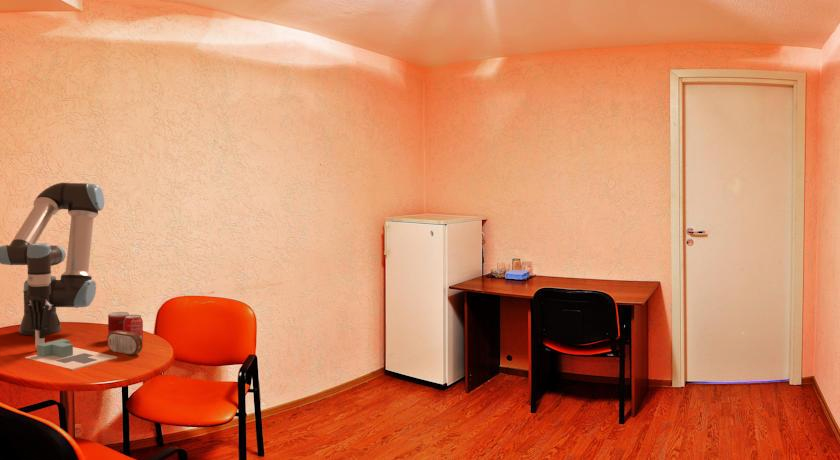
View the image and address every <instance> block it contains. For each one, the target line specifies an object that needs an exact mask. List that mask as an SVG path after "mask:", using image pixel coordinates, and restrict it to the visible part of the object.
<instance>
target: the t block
mask: <svg viewBox="0 0 840 460" xmlns="http://www.w3.org/2000/svg"><path fill="white" fill-rule="evenodd" d="M73 347H74V345H73V343H71V342H70V340H69V339H64V338H61V339H57V340H52V341H48V342H45V343H43V344H38V345H37V347H36V355H37V356H42V357H47V356H51V355H53V356H58V357H62V358H63V357H67V356H71V355H73Z"/></svg>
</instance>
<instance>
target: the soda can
mask: <svg viewBox="0 0 840 460" xmlns="http://www.w3.org/2000/svg"><path fill="white" fill-rule="evenodd" d="M143 321H144V320H143V318H142V315H141V314H129V315H128V316H125V320H124V323H123V331H125V332H132V333H136V334H137V335H138V336H139V337H140V338H141V340H142V343H143V342H144V341H143V340H144V339H143V338H144V324H143V323H144V322H143Z"/></svg>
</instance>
